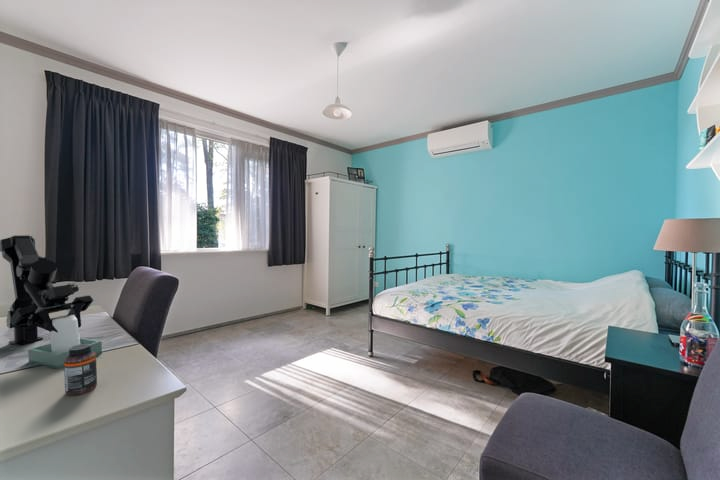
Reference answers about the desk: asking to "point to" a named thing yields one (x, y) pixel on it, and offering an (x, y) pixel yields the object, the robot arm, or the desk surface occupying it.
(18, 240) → the robot arm
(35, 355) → the tray
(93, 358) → the supplement bottle
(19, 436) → the desk surface
